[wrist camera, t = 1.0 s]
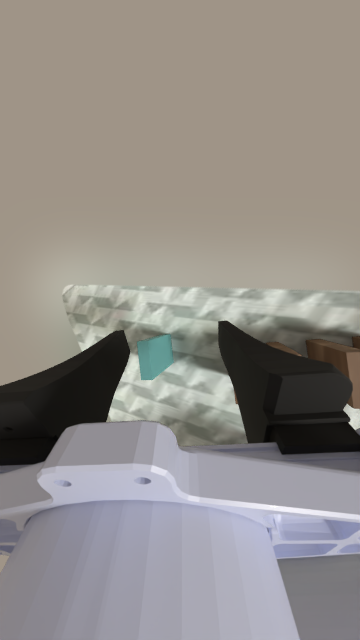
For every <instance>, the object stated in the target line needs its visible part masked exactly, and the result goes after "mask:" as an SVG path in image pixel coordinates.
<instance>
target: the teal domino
mask: <svg viewBox="0 0 360 640" xmlns="http://www.w3.org/2000/svg"><path fill="white" fill-rule="evenodd" d="M137 347H138V356H139V364H140V373H141V380H153V379H154V378H155V377H157V376H158V375H159V374H160V373H162V372H163V371H164V370H165V369H166V368H168V367H169V366H170V365H171V364H172V363H174V361H173V353H172V344H171V336H170V334H165V335H159V336H156V337H152V338H149V339H145V340H141V341H138V342H137Z"/></svg>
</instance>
